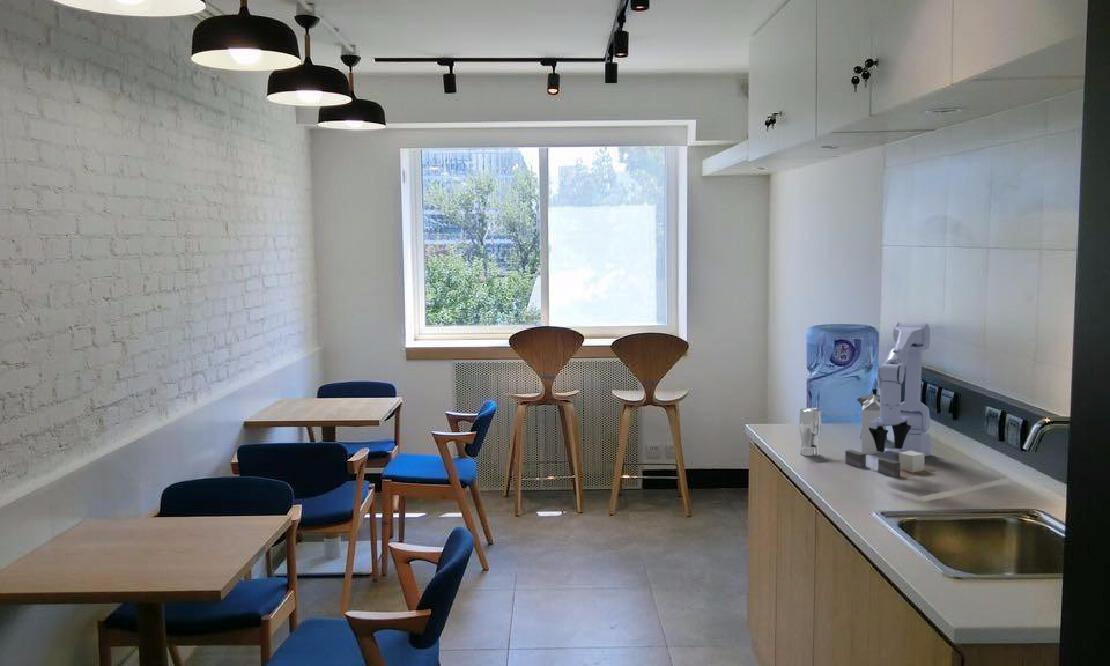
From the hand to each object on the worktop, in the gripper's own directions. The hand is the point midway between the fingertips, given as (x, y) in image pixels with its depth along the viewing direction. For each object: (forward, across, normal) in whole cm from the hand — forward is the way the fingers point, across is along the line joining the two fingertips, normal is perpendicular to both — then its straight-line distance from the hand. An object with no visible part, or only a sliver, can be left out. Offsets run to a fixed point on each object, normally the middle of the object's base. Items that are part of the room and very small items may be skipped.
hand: (889, 449), depth 264 cm
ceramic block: (+7, -10, 0) cm, 12 cm away
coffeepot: (+9, -37, -38) cm, 53 cm away
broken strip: (+8, -8, -13) cm, 17 cm away
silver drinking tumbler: (+9, -2, -34) cm, 35 cm away
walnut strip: (+8, -8, 0) cm, 11 cm away
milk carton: (+9, -20, -24) cm, 32 cm away
